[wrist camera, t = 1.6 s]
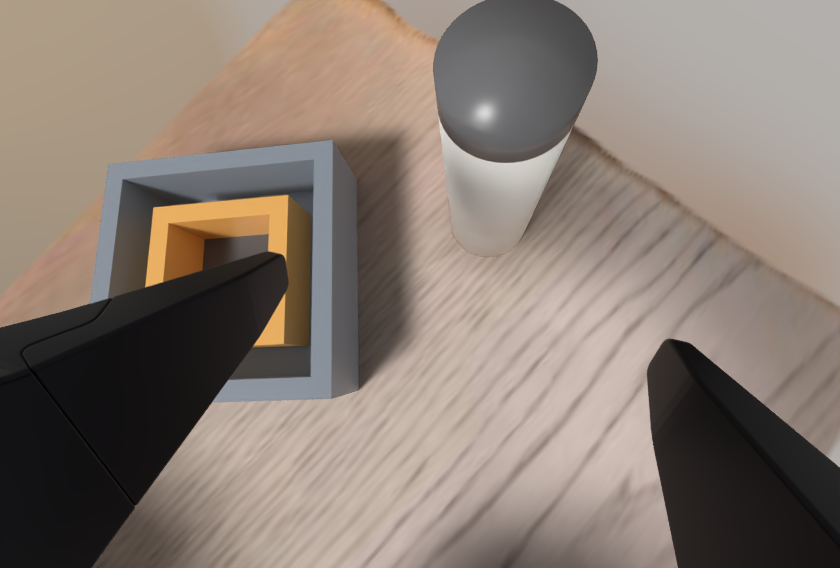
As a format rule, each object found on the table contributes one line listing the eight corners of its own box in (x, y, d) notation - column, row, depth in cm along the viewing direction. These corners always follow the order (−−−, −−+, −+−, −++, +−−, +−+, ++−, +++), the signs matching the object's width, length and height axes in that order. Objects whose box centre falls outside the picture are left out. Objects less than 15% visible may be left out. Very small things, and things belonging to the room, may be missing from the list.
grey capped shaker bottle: (529, 254, 22) (607, 125, 10) (453, 259, 22) (437, 142, 10) (522, 183, 23) (586, -17, 11) (449, 190, 23) (429, 6, 11)
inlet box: (358, 390, 22) (331, 398, 17) (151, 397, 23) (76, 406, 19) (357, 179, 24) (332, 140, 20) (169, 197, 25) (108, 164, 21)
